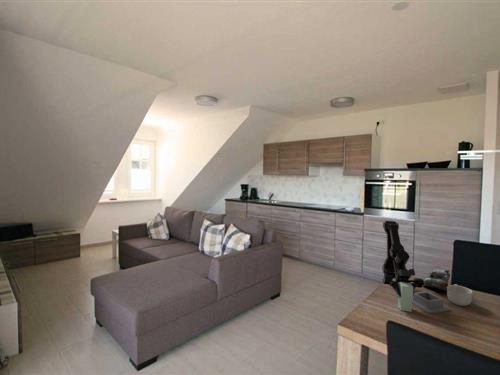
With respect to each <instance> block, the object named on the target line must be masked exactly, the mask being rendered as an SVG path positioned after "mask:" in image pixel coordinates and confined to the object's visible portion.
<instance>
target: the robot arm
mask: <svg viewBox="0 0 500 375" xmlns="http://www.w3.org/2000/svg"><path fill="white" fill-rule="evenodd" d="M399 225H400V224H399V223H398V222H397V221H396V220H394V221H393V220H384V221H383V222H382V227H383V231H384V232H385V234H386V257H385V259H384V261H383V262H384V263H383V265H382V267H381V269H382V270H381V271H382V273H383V278H382V279H381V281H382V284H384V285H389V287H392V288H393V290H394V291H395V292H396V294H397V295H398V296H399V297H401V294H400V290H399V282H405V283H410V284H411V285H412V286H413V294H414V293H415V292H414V291H415V289H416V288H419V289H421V288H422V287H424V286H423V285H424V284H425V283H424V280H425V279H423V278H418V277H414V279H413V280H412V279H411V278H412V276H415V275H416V272H415V269H414V268H408V269H407V265H406V264H407V263H408V261H409V259H410V254H409V253H408V252H407V251H406V250H405V248H404V247H405V246H404V245H403V244H402V243H401V239H400V233H399V229H400V226H399Z"/></svg>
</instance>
